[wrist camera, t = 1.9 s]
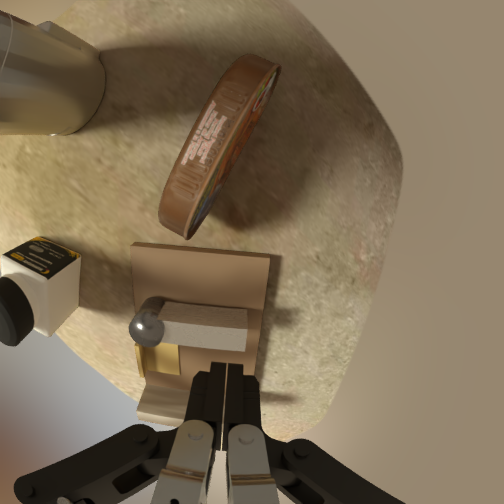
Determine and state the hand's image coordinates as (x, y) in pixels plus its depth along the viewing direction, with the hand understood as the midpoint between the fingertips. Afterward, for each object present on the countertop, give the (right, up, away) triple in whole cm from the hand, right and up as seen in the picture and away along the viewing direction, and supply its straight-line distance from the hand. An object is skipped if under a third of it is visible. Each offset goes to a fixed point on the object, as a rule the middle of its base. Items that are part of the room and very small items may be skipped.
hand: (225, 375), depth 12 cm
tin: (-1, +15, +11) cm, 19 cm away
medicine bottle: (-22, +4, +15) cm, 26 cm away
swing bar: (-5, 0, +15) cm, 15 cm away
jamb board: (-5, -3, +17) cm, 18 cm away
